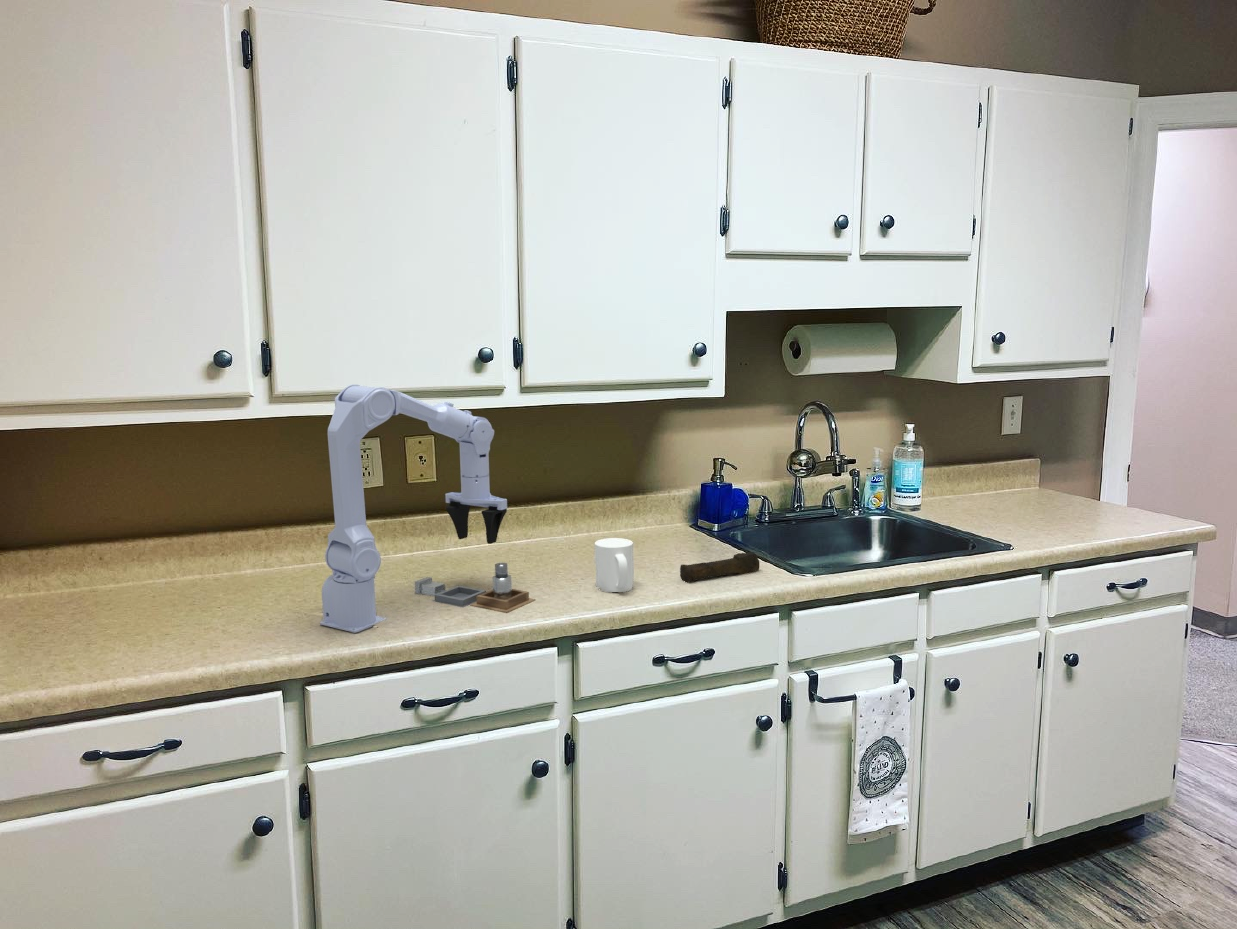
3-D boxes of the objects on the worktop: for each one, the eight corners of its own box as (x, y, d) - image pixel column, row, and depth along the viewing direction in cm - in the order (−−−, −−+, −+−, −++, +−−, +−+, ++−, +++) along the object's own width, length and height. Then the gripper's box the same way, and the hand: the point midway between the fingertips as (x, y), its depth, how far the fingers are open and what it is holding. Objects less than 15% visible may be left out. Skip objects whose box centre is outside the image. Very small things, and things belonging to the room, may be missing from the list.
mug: (589, 538, 201) (625, 535, 203) (589, 581, 202) (625, 578, 205) (604, 552, 189) (642, 549, 192) (605, 598, 191) (643, 594, 193)
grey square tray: (431, 603, 188) (431, 594, 188) (458, 593, 195) (458, 584, 195) (463, 610, 184) (462, 601, 184) (489, 599, 191) (489, 590, 191)
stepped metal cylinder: (489, 602, 186) (487, 565, 185) (502, 597, 189) (500, 561, 188) (503, 605, 184) (501, 567, 183) (516, 600, 187) (514, 563, 186)
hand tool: (687, 585, 200) (687, 564, 199) (678, 580, 204) (678, 559, 203) (765, 575, 207) (766, 554, 206) (755, 570, 211) (756, 550, 210)
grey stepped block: (415, 595, 193) (414, 581, 193) (428, 590, 197) (427, 576, 196) (434, 599, 191) (433, 585, 190) (446, 594, 194) (446, 580, 194)
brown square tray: (470, 608, 185) (469, 596, 185) (499, 596, 193) (498, 584, 192) (507, 616, 181) (506, 603, 180) (535, 603, 188) (535, 591, 188)
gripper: (515, 475, 193) (517, 540, 195) (460, 469, 200) (462, 532, 203) (493, 480, 187) (495, 548, 189) (437, 474, 195) (440, 539, 197)
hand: (477, 540), depth 196 cm, fingers open, 7 cm apart
